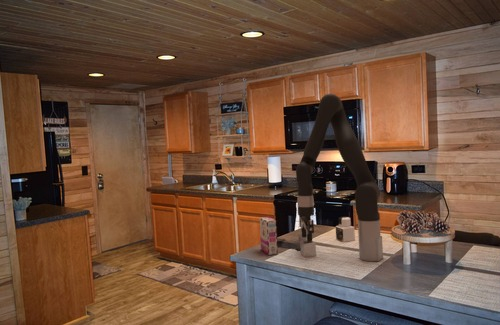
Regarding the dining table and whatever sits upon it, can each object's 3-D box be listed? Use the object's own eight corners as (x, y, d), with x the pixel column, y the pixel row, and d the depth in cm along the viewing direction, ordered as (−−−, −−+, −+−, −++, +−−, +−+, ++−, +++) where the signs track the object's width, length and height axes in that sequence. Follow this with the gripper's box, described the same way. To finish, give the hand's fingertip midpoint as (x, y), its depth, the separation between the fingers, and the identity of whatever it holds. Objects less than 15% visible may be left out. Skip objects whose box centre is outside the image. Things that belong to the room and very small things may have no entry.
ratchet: (313, 247, 189) (313, 232, 189) (306, 251, 182) (305, 236, 182) (275, 242, 202) (275, 228, 201) (267, 246, 195) (266, 232, 195)
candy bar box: (278, 254, 181) (276, 220, 180) (268, 255, 179) (266, 221, 179) (270, 248, 192) (268, 216, 191) (260, 250, 190) (258, 217, 189)
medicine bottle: (335, 239, 202) (334, 216, 201) (347, 237, 204) (346, 215, 203) (343, 242, 195) (342, 219, 194) (355, 240, 197) (354, 217, 196)
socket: (312, 252, 181) (311, 240, 180) (316, 255, 175) (315, 242, 175) (300, 253, 180) (300, 241, 179) (304, 257, 174) (303, 244, 174)
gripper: (318, 206, 170) (319, 242, 171) (308, 201, 184) (309, 235, 185) (302, 208, 169) (303, 244, 170) (293, 203, 183) (294, 236, 184)
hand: (306, 239), depth 178 cm, fingers open, 8 cm apart
